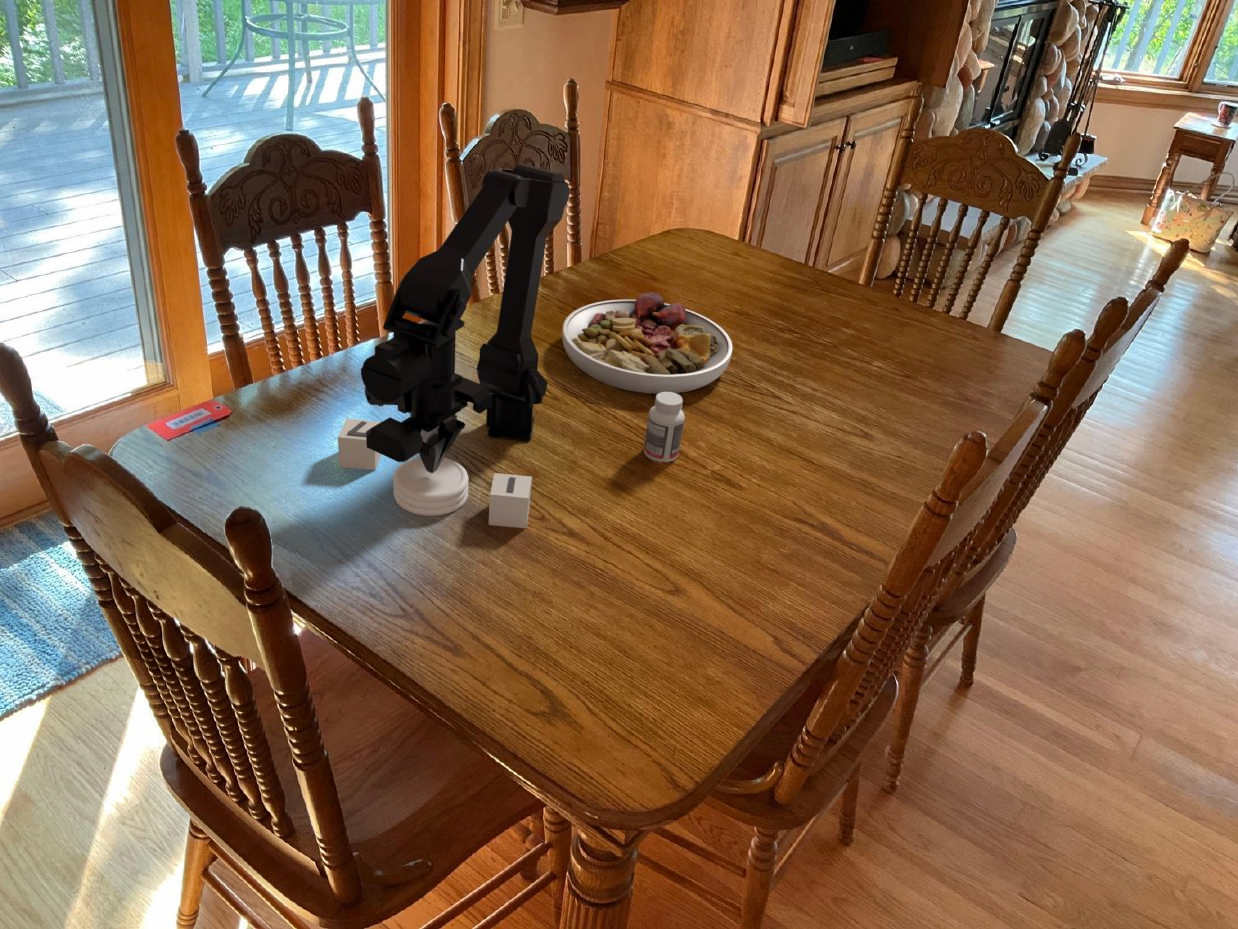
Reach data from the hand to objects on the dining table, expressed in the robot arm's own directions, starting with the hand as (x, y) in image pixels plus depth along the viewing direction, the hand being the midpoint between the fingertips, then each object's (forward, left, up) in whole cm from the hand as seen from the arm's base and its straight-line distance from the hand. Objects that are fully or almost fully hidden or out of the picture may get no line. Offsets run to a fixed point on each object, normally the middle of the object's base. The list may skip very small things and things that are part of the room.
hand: (431, 471), depth 131 cm
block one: (-11, +3, -4) cm, 12 cm away
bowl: (-30, -47, -4) cm, 56 cm away
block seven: (+11, -7, -4) cm, 14 cm away
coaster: (0, 0, -4) cm, 4 cm away
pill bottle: (-32, -16, -4) cm, 36 cm away
